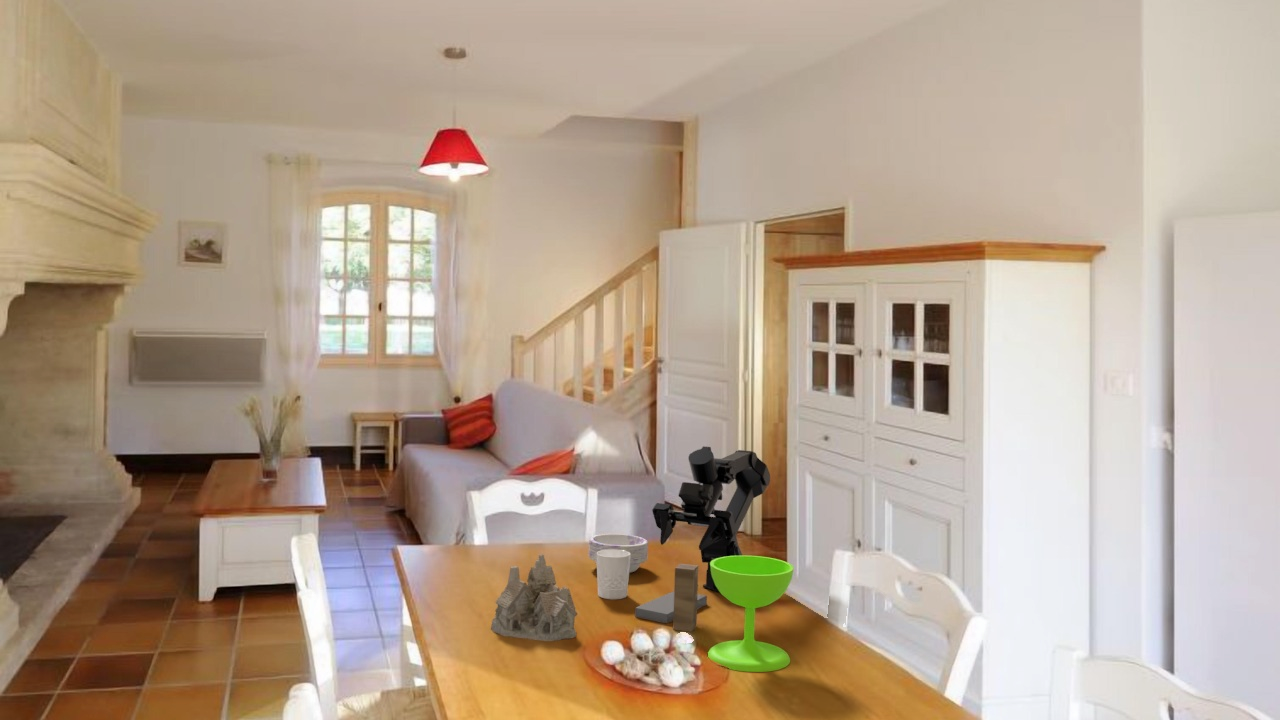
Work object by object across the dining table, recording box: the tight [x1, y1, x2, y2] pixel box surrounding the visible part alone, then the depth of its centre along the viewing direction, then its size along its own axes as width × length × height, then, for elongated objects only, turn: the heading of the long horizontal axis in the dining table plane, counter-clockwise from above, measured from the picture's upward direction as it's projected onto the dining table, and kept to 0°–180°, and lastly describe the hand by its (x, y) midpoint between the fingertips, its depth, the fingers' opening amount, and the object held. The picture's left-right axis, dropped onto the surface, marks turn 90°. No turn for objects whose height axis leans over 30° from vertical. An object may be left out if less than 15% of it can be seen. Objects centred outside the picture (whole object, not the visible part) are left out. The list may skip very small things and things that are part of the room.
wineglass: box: [707, 554, 794, 673], centre depth 197 cm, size 16×16×18 cm
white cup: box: [596, 549, 631, 600], centre depth 238 cm, size 8×8×10 cm
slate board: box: [634, 590, 708, 624], centre depth 227 cm, size 18×8×2 cm, turn 148°
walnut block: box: [672, 563, 699, 633], centre depth 215 cm, size 4×4×13 cm
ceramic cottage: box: [490, 554, 578, 642], centre depth 210 cm, size 16×16×15 cm
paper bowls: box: [588, 533, 649, 574], centre depth 263 cm, size 15×15×8 cm
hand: (680, 545), depth 224 cm, fingers open, 9 cm apart
